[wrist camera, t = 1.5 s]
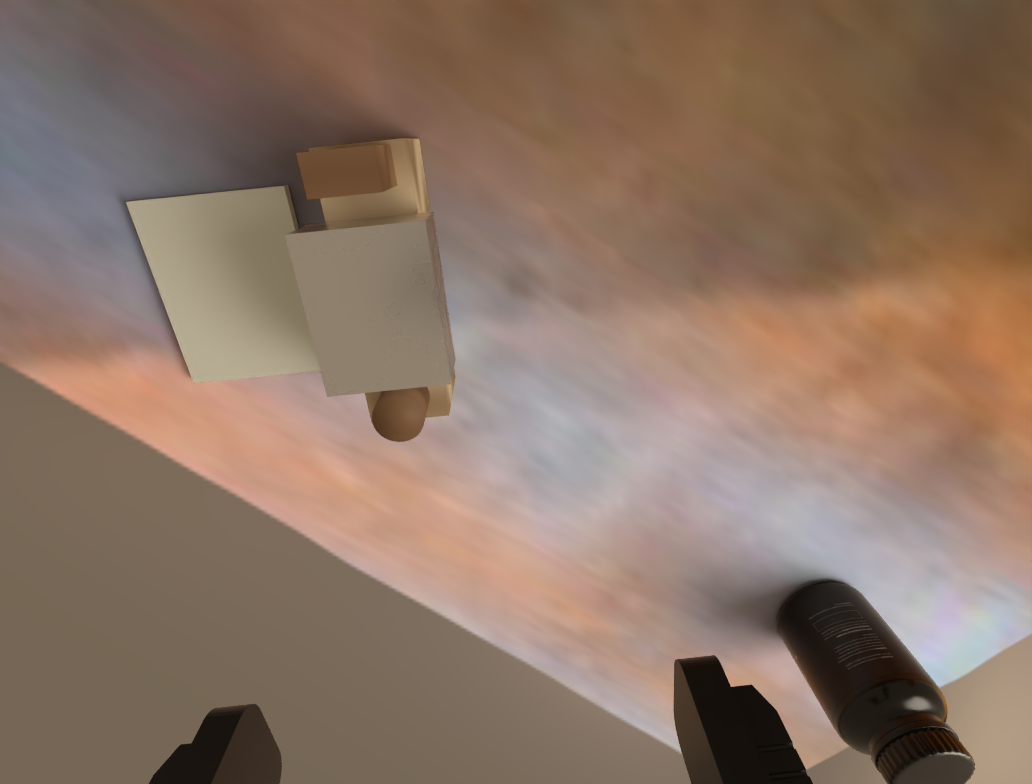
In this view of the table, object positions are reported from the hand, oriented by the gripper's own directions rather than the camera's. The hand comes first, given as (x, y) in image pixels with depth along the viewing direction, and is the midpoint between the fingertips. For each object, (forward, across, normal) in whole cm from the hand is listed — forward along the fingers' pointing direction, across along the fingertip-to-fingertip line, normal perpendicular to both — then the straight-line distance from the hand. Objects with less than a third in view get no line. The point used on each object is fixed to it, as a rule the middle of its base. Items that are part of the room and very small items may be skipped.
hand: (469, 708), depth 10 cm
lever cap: (+18, +4, -4) cm, 19 cm away
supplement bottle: (+23, -22, +26) cm, 41 cm away
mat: (+23, +13, -4) cm, 27 cm away
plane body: (+23, +4, -4) cm, 24 cm away
